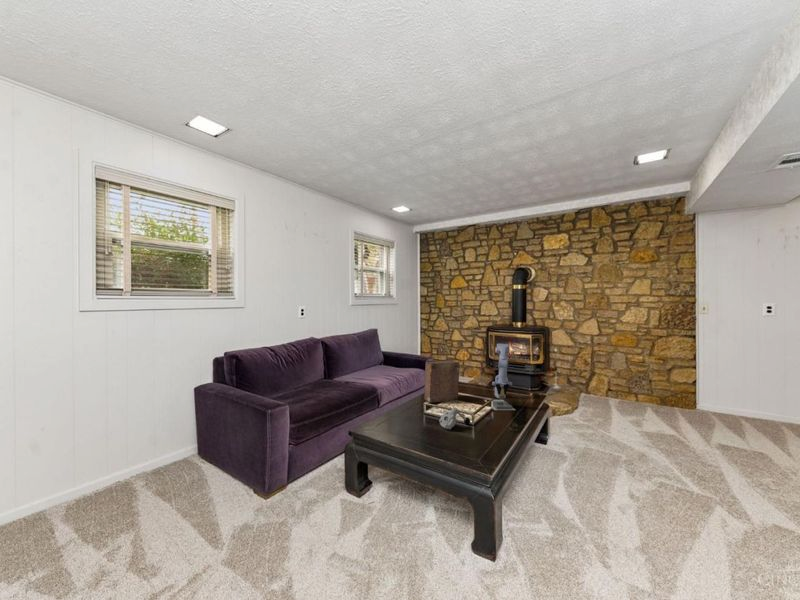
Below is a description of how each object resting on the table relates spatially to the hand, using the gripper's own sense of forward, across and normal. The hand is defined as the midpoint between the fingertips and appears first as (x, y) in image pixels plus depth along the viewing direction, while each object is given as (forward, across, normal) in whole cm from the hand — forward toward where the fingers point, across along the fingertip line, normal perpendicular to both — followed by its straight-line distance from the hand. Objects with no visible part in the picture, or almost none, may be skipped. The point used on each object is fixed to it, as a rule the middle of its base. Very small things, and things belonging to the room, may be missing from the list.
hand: (501, 394), depth 249 cm
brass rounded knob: (+2, 0, 0) cm, 2 cm away
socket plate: (+10, 0, +4) cm, 11 cm away
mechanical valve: (+10, -44, -32) cm, 55 cm away
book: (+10, -41, +17) cm, 46 cm away
